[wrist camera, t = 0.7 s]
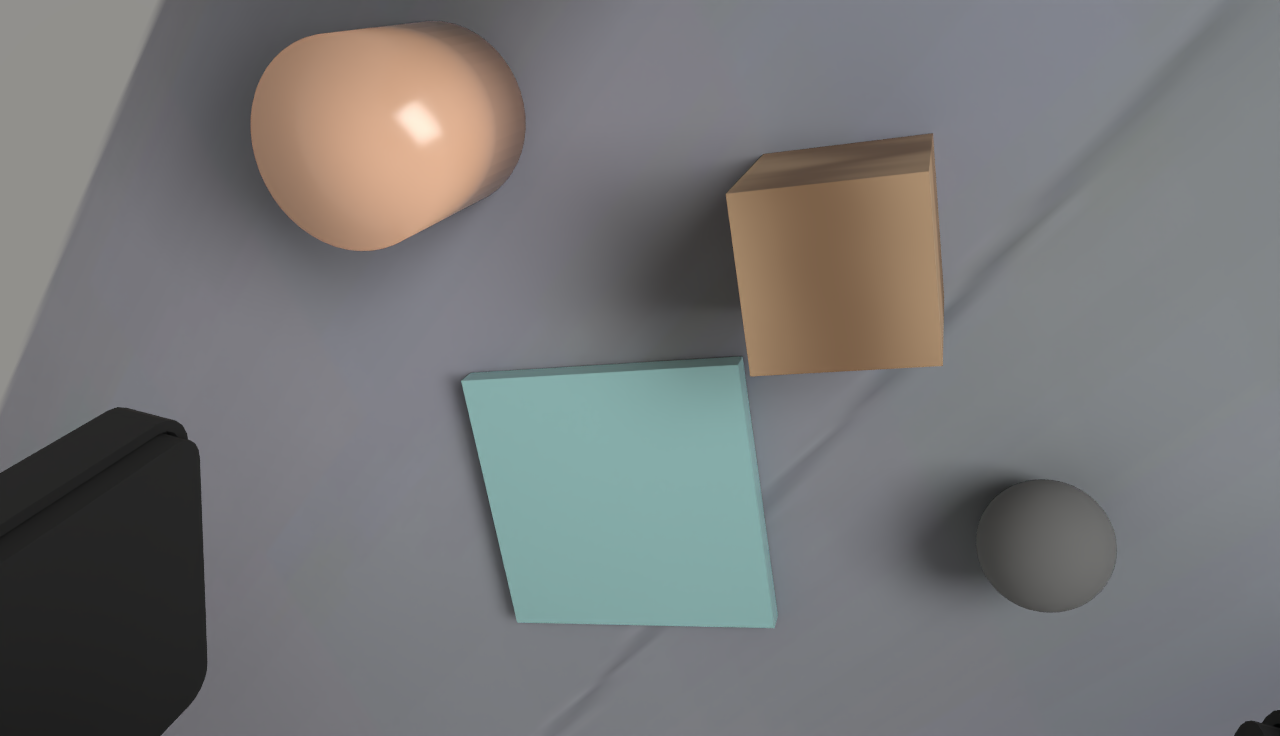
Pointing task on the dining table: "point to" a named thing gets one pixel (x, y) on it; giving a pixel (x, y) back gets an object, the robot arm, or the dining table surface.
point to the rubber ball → (1046, 546)
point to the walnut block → (840, 258)
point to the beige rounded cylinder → (385, 130)
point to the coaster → (626, 493)
